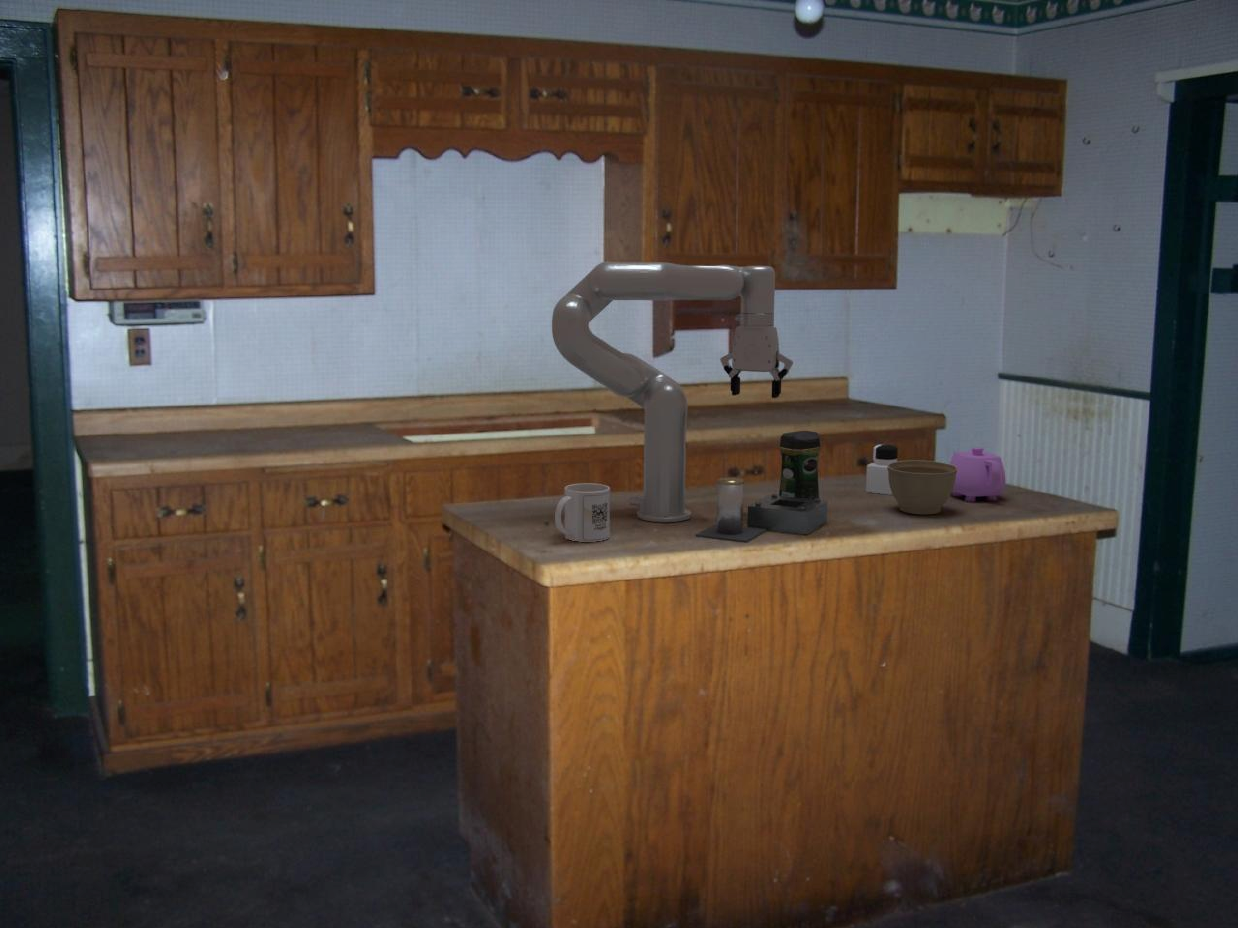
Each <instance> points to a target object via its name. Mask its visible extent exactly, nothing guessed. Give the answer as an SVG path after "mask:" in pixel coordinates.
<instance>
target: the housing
mask: <svg viewBox="0 0 1238 928" xmlns="http://www.w3.org/2000/svg"><path fill="white" fill-rule="evenodd" d="M828 503H829V502H828V500H824V499H823V500H822V499H821V498H820V497H819V498H815V499H806V498H796V497H786V496H779V495H778V494H777V493H772V494H768V495H766V496H765V497H762V498H760V499H759V500H757V501H754V502H753V503H751V504H749V505H747V520H746V521H747V523H746V525H747V526H746V527H751V528H759V529H767V531H773V532H779V531H782V532H781V533H790V534H799V535H809V534H811V533H812V532H814V531H815V530H817V529H819V527H822V526H823V525H825V524H826V523H827V522H828Z"/></svg>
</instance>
